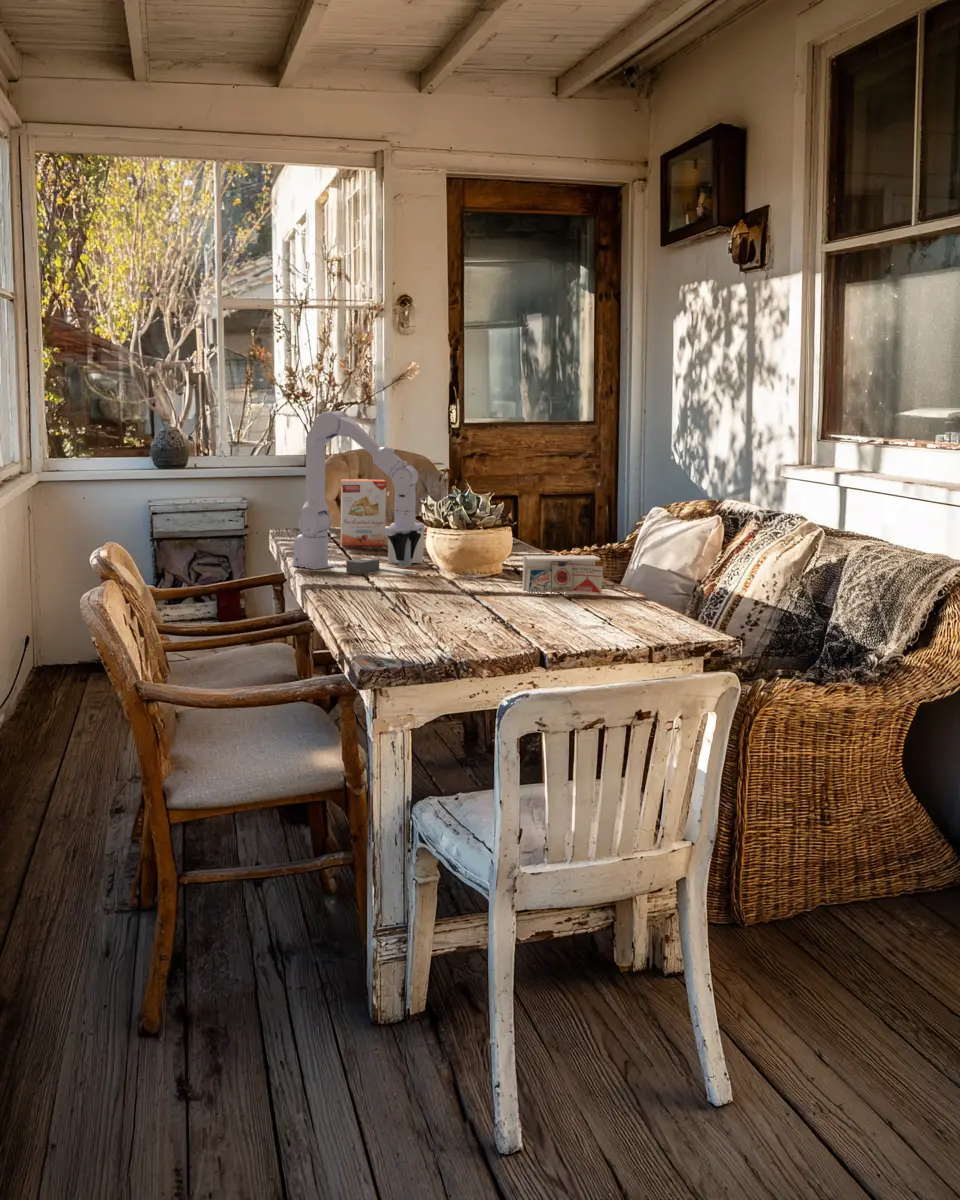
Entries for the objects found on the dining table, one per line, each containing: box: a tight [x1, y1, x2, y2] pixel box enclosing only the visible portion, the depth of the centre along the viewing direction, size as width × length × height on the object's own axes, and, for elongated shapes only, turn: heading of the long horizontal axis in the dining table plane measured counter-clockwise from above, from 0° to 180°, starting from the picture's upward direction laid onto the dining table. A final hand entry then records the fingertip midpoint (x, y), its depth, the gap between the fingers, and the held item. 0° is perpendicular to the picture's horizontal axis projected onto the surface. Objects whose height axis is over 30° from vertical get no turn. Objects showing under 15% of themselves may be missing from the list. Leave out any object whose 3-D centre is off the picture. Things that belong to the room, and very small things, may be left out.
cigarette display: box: [521, 554, 604, 594], centre depth 299 cm, size 20×6×9 cm, turn 100°
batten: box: [379, 564, 420, 575], centre depth 327 cm, size 16×4×1 cm, turn 53°
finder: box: [345, 557, 380, 575], centre depth 325 cm, size 5×8×4 cm, turn 143°
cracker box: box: [340, 478, 387, 547], centre depth 374 cm, size 14×6×21 cm, turn 102°
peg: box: [398, 538, 412, 567], centre depth 324 cm, size 3×3×8 cm
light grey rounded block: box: [387, 521, 425, 565], centre depth 340 cm, size 10×4×12 cm, turn 98°
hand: (404, 559), depth 324 cm, fingers closed on peg, 3 cm apart
